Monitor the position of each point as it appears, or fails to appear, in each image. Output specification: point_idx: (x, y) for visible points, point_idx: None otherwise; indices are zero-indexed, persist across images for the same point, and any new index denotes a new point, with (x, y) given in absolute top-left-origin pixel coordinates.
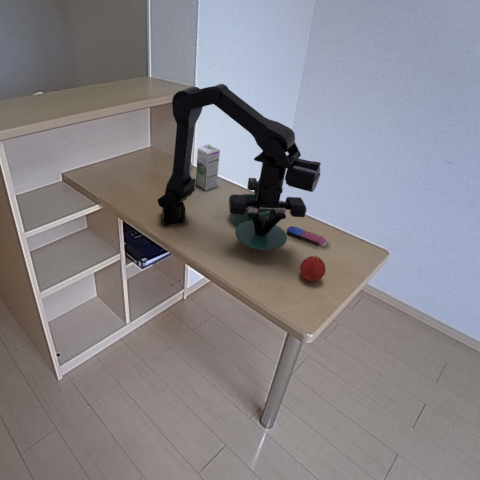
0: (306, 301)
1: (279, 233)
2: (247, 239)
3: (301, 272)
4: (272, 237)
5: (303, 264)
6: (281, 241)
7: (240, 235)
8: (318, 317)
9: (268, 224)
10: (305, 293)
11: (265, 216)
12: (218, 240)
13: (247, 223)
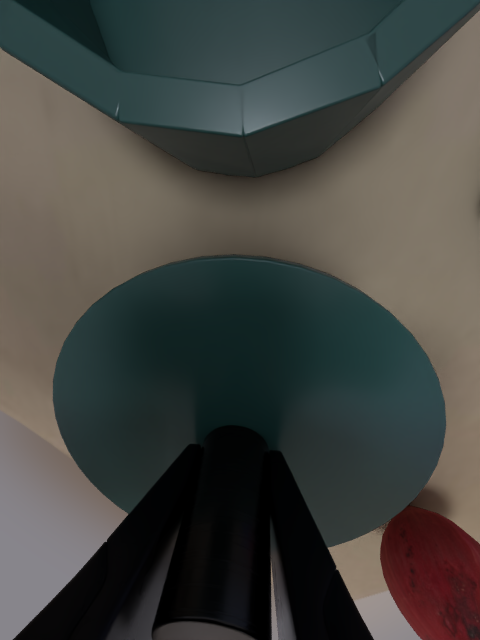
0: (351, 560)
1: (386, 449)
2: (145, 494)
3: (381, 561)
4: (312, 485)
5: (402, 607)
6: (360, 518)
7: (98, 463)
8: (359, 591)
9: (278, 587)
10: (363, 541)
11: (362, 108)
12: (54, 286)
13: (130, 323)
